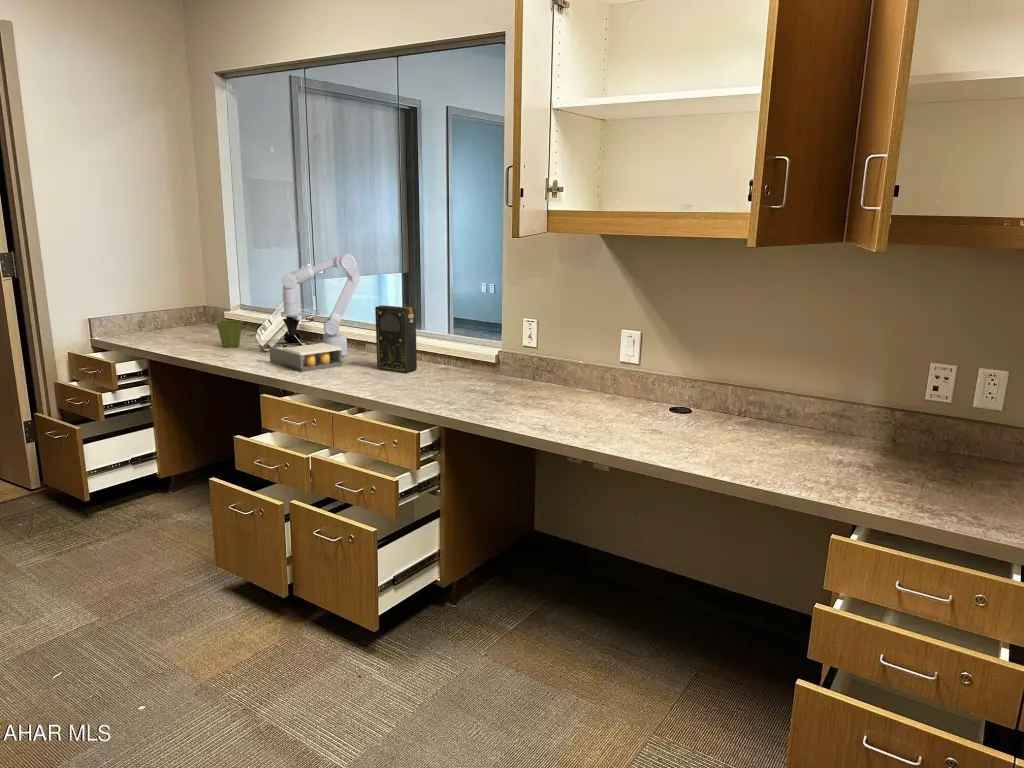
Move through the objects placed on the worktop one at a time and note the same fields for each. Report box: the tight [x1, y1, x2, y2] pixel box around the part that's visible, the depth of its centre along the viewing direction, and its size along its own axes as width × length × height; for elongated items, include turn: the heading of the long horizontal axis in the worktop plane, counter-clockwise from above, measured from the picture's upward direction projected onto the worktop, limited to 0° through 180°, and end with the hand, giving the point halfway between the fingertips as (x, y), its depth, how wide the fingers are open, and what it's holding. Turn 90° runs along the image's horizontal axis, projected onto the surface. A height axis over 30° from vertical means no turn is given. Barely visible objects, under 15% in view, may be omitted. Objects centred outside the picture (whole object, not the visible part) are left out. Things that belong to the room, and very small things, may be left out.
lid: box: [282, 342, 342, 356], centre depth 290 cm, size 18×14×2 cm
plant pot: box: [214, 319, 244, 348], centre depth 331 cm, size 12×12×11 cm
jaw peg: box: [319, 352, 330, 365], centre depth 290 cm, size 4×4×6 cm
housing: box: [268, 341, 343, 373], centre depth 295 cm, size 18×26×6 cm
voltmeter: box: [374, 304, 418, 374], centre depth 283 cm, size 16×9×25 cm, turn 60°
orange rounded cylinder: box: [304, 354, 316, 367], centre depth 286 cm, size 4×4×6 cm
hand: (292, 335), depth 307 cm, fingers closed
